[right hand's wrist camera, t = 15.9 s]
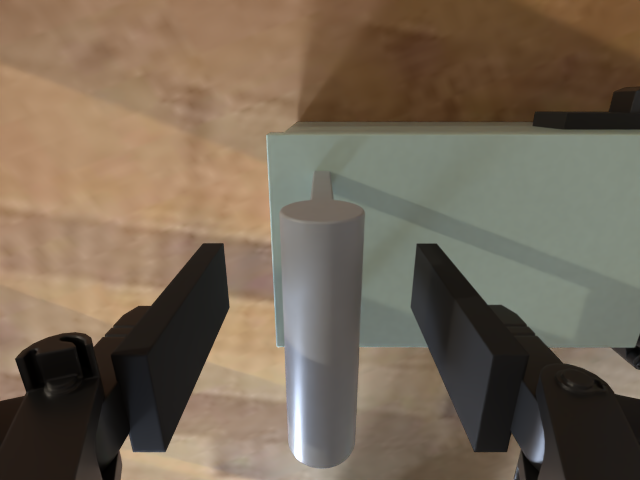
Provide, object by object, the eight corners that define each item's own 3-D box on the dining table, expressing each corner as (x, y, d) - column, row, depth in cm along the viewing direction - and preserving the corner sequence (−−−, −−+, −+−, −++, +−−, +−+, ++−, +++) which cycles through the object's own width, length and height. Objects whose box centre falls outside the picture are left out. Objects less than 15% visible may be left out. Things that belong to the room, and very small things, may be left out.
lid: (278, 334, 19) (248, 500, 11) (269, 132, 16) (216, 163, 8) (619, 335, 19) (832, 502, 11) (685, 132, 16) (1064, 163, 8)
